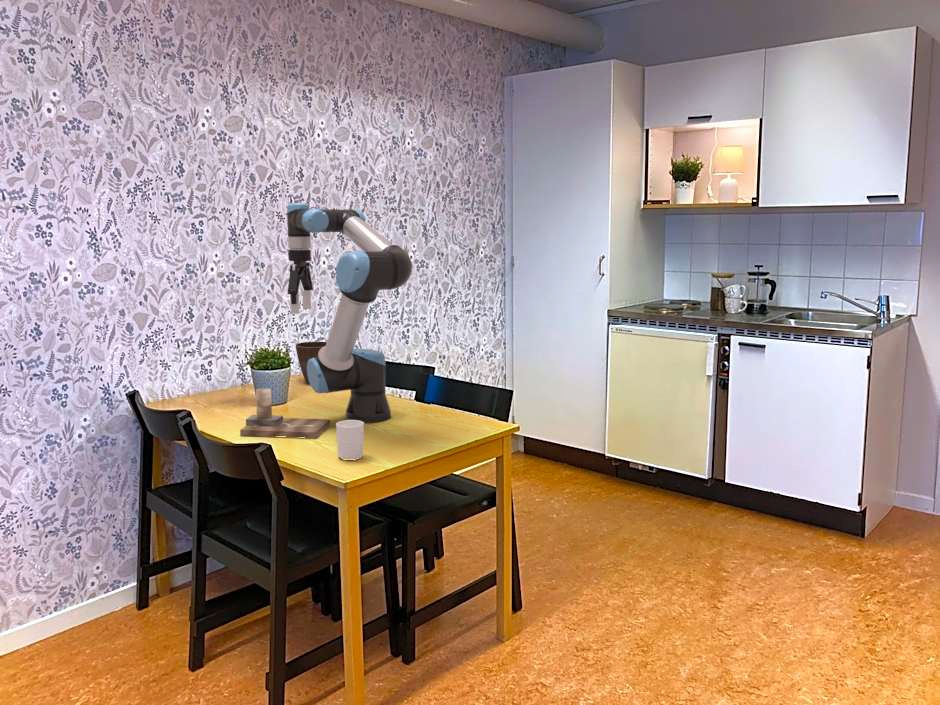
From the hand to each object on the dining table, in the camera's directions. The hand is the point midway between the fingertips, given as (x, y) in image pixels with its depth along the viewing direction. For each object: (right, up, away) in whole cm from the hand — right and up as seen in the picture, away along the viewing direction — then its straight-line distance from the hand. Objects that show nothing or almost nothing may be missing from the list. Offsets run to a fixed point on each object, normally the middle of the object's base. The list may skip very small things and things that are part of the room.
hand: (301, 311), depth 277 cm
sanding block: (-7, -37, -21) cm, 43 cm away
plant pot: (-5, -27, +49) cm, 56 cm away
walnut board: (0, -39, -22) cm, 45 cm away
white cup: (+24, -44, -49) cm, 70 cm away
